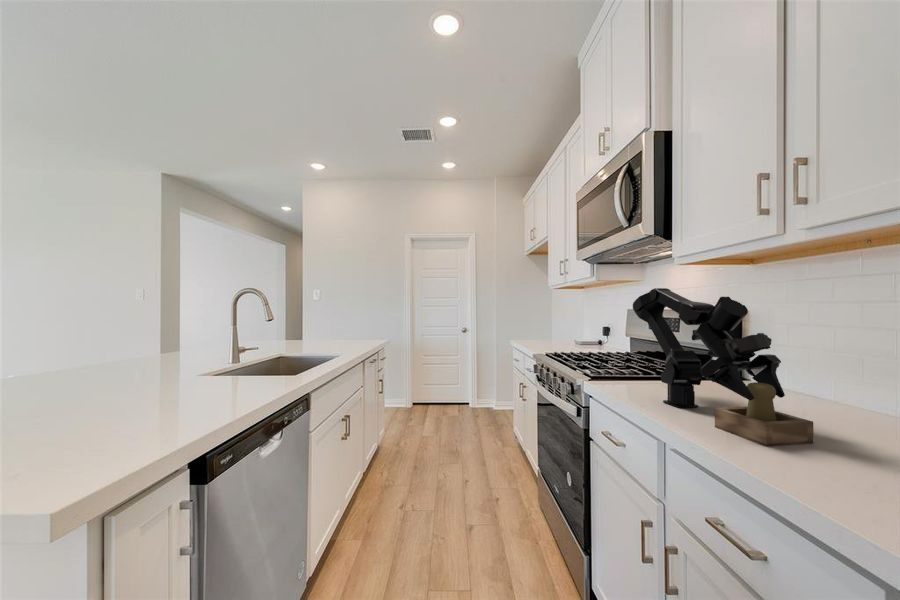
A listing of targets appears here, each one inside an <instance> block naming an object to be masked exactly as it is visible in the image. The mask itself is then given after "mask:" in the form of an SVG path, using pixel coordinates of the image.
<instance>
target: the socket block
mask: <svg viewBox="0 0 900 600" xmlns="http://www.w3.org/2000/svg"><path fill="white" fill-rule="evenodd" d="M747 407H748V405H746V406H731V407H729V406H728V407H714V428H717V429H719V430H721V429H722V430H721V431H724V432H727V433H729V432H730V434H732V435H734V434H735V435H734V436H738V437H740V438H742V437H743V438H742V439H745V440H747V441H751V442H754V443H756V444H757V445H758V444H759V445H761V446H764V447H776V446H790V445H791V446H792V445H802V444H813V443H814V421H813V420H809V419H806V418H803V417H802V418H801V417H798V416H794V415H792V414H791V415H790V414H788V413H783V412H779V411H776V410H775V416H776V421H772V422H763V421H760V420H757V419H754V418H751V417H747V416H746V413H747Z"/></svg>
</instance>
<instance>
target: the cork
mask: <svg viewBox="0 0 900 600" xmlns="http://www.w3.org/2000/svg"><path fill="white" fill-rule="evenodd" d="M746 386H747V387H748V389H749V390H750V392H751V393H752V395H753V396H754V399H753V400H748V403H747V406H748V407H747V413H746V416H747V417H751V418H754V419H757V420H760V421H763V422H772V421H776V416H775V411H776V410H775V406H774V400H775V398H776V397H777V395H776V390H775V388H774V387H773V386H772V385H769V384H765V383H758V382H757V381H755V382H749V383H748V384H747V385H746Z"/></svg>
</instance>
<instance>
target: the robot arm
mask: <svg viewBox="0 0 900 600" xmlns="http://www.w3.org/2000/svg"><path fill="white" fill-rule="evenodd" d="M665 308H668V309H670V310H672V311H673V312H676V314H678V318H679V320H681V321H682V322H683V323H684V324H685V325H686V326H698V327H697V329H693V330H692V335H691V341H699V340H700V341H701V343H703V344H704V345H705V347H706V348H707V350H708V352H707V355H708V356H709V358H710V357H711V358H710V359H709V360H708V361H706V362H705V364H703V365H702V363H701V362H702V360H700V358H699V357H698V355H697V354H696V352H695V351H694V350H685V349H684V348H683V346H682V345H681V343H680V341H679V339H678V338H677V337H676V335H675V333H674V332H673V330H672V328H671V327H670V325H669V324H668V322H667V320H666V319H665V317H664V316H663V315H664V311H665ZM632 310H633V311H634V313H635V315H636V316H637V317H638V318H639V319H640V320H642V321H644V322H646V323H647V325H648V327H650V330H651V332H652V333H653V335H654V337H655V339H656V341H657V342H658V345H660V347H661V349H662V351H663V353H664V355H665V357H666V358H665V362H664V363H665V364H664V366H665V368H664V369H663V370H662V372H661V373H660V379H661V380H660V381H661V382H662V383H664V384H667V399H664V400H662V403H664V404H668V405H670V406H673V407H675V408H678V409H679V408H680V409H683V408H685V409H686V408H687V409H689V408H699V407H700V406H699V404H696V403H695V398H696V395H695V394H696V393H695V391H694V390H695V386H700V385H701V383H702V379H703V378H704V379H705V380H707V381H708V380H710V381H711V382H712V383H716V384H717V385H720V386H722V387H723V388H726V389H728V390H730V391H732V392H734V393H735V394H737V395H740V396H741V397H742V398H744V399H746V400H748V401H749V400H753V399H754V396H753V395H752V393H751V392H750V390H749V389H748V387H747V385H746V384H745V382H744V381H743V379H742V378H741V377H740V374H739V371H745V372H747V374H748V375H750V376H752V378H751V379H752V380H754V381H755V382H757V383H765V384H769V385H772V386H773V387H774V388H775V390H776V397H778V398H781V399H782V398H784V397H786V394H785V392H784V389H783V387H782V385H781V383H780V380H779V379H778V376H777V368H779V367H780V364H782V360H781V359H780V358H778V356H776V354H768V353H767V354H766V353H764V354H758V355H757V356H756V353H755V352H760V351H762V350H763V351H764V350H768V349H771V345H772V341H773V340H772V338H771V337H768V334H765V333H764V332H759V333H756V334H750V335H747V336H743V337H741V338H733V337H732V336H731V335H730V333H728V332H731V331H733V330H734V329H735V328H736V327H737V326H738V325H739V324H740V323H741V321H743V320H744V318H746V316H747V315H748V313H749V310H748V308H747V306H746V305H745V304H743V303H741V302H739V301H737V300H734V299H732V298H731V297H730V296H720V297H719V299H718V300H717V302H716V304H715V305H713V304H711V303H707V302H701V301H692V300H690V299H688V298H686V297H684V296H682V295H680V294H677V293H675V292H674V291H671V289H669V288H666V287H659V288H658V287H655V288H652V289H651V290H650V291H648V292H646V293H645V294H642V295H640V296H638V297H637V298H636V299H635V300H634V301H633V302H632ZM753 357H754V358H753ZM751 358H753V359H752V360H751Z"/></svg>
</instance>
